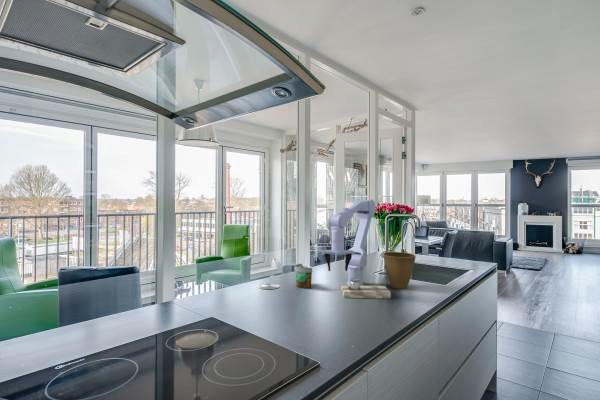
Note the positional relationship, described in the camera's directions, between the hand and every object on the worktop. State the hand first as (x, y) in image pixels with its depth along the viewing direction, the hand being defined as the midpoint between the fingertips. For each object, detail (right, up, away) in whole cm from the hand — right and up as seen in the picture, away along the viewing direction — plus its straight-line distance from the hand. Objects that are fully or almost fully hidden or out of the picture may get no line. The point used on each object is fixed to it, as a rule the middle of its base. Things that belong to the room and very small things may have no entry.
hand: (337, 270), depth 145 cm
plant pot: (+31, -10, +9) cm, 34 cm away
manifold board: (+12, -10, -3) cm, 16 cm away
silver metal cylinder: (+7, -10, -3) cm, 13 cm away
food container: (-17, -10, +9) cm, 22 cm away
